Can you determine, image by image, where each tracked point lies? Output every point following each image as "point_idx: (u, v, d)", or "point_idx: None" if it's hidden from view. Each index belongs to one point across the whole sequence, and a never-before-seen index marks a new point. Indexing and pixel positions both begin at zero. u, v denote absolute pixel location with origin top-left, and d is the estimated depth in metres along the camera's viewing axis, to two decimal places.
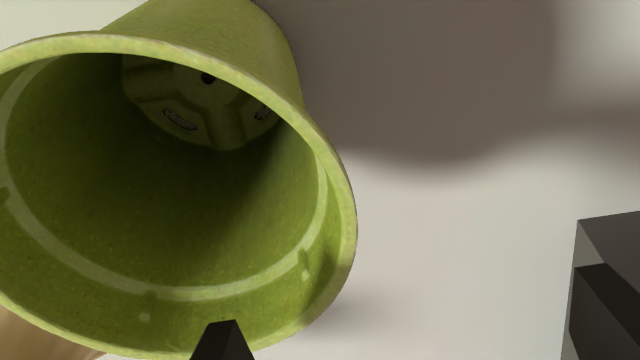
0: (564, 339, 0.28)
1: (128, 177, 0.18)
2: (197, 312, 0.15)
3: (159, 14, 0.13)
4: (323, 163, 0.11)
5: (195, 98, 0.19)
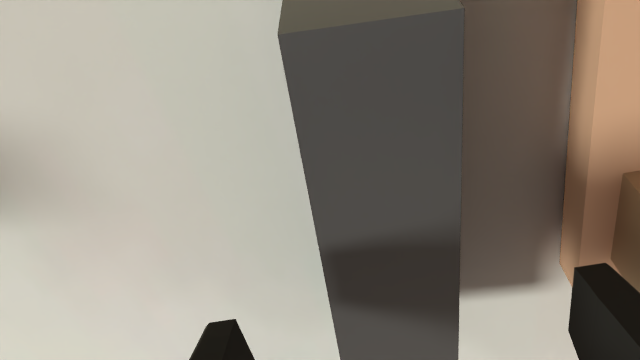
0: None
1: None
2: None
3: None
4: None
5: None
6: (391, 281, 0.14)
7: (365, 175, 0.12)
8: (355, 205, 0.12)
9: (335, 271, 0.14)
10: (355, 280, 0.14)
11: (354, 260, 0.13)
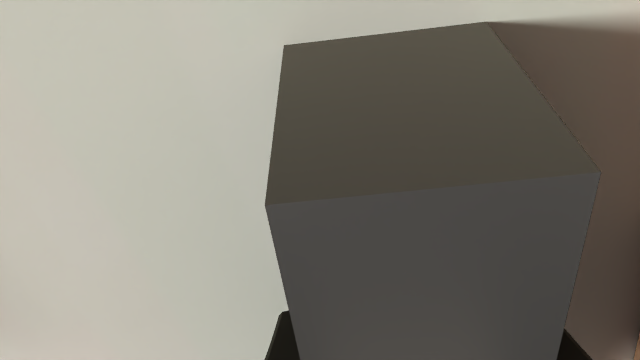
0: None
1: None
2: None
3: None
4: None
5: None
6: None
7: None
8: None
9: None
10: None
11: None
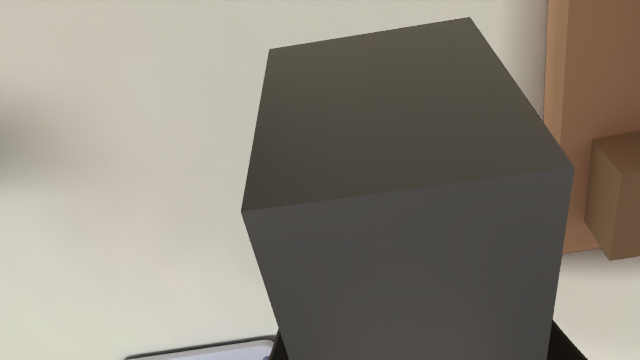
0: None
1: None
2: None
3: None
4: None
5: None
6: None
7: None
8: None
9: None
10: None
11: None
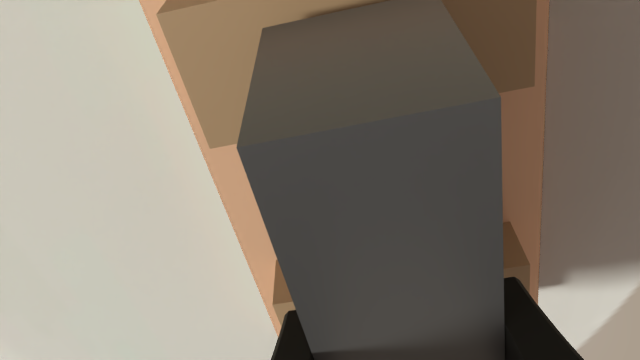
0: None
1: None
2: None
3: None
4: None
5: None
6: None
7: (374, 302, 0.09)
8: (365, 335, 0.09)
9: None
10: None
11: None
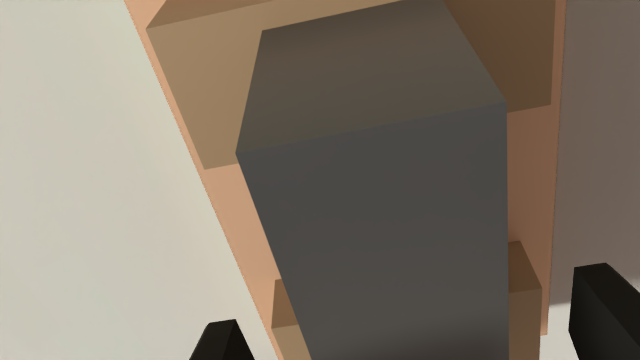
0: None
1: None
2: None
3: None
4: None
5: None
6: None
7: (376, 309, 0.09)
8: (366, 344, 0.09)
9: None
10: None
11: None
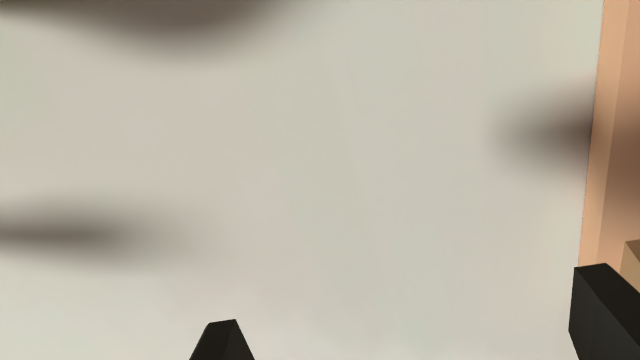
0: None
1: None
2: None
3: None
4: None
5: None
6: None
7: None
8: None
9: None
10: None
11: None
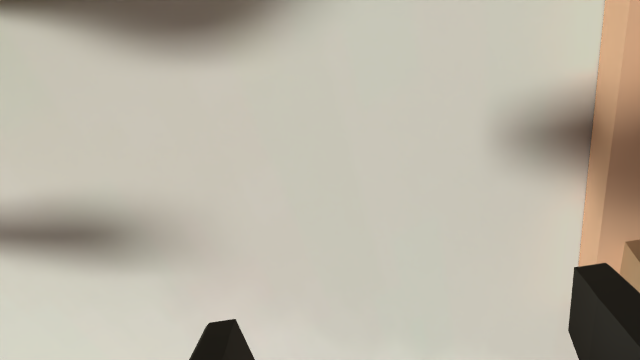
0: None
1: None
2: None
3: None
4: None
5: None
6: None
7: None
8: None
9: None
10: None
11: None
